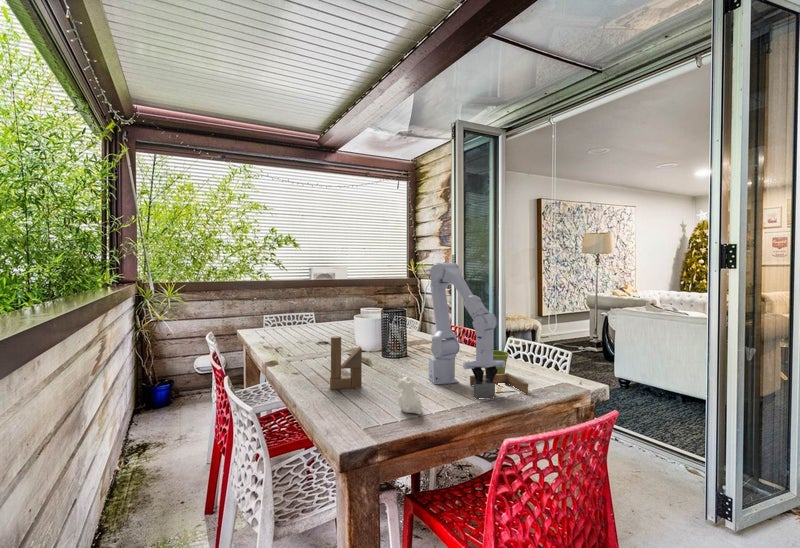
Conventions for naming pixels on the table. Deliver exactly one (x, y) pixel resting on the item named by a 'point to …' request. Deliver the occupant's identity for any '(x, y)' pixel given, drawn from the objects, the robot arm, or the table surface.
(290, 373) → the table surface
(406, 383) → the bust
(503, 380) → the walls
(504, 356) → the plant pot
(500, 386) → the pad
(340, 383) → the brown angular piece
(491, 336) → the robot arm
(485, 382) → the bracket
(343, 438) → the table surface
